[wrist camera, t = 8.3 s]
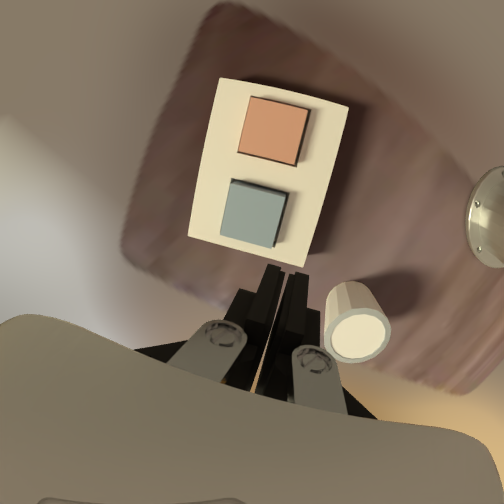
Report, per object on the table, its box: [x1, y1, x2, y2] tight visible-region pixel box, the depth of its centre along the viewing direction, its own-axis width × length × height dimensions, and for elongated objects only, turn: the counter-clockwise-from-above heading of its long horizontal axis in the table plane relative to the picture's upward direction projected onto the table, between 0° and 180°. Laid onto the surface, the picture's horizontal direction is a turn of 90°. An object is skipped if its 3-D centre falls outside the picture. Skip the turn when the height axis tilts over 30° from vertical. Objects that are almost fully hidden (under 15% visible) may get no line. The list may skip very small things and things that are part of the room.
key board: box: [188, 78, 349, 267], centre depth 28 cm, size 12×16×3 cm
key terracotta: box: [238, 97, 308, 165], centre depth 26 cm, size 5×5×2 cm
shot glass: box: [324, 281, 391, 363], centre depth 31 cm, size 7×7×7 cm
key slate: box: [220, 180, 286, 249], centre depth 28 cm, size 5×5×2 cm
